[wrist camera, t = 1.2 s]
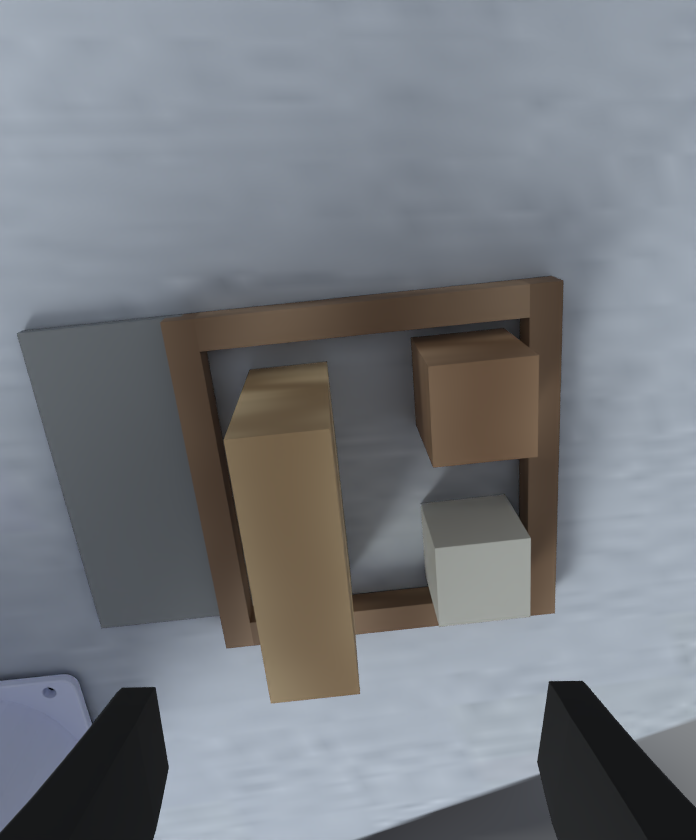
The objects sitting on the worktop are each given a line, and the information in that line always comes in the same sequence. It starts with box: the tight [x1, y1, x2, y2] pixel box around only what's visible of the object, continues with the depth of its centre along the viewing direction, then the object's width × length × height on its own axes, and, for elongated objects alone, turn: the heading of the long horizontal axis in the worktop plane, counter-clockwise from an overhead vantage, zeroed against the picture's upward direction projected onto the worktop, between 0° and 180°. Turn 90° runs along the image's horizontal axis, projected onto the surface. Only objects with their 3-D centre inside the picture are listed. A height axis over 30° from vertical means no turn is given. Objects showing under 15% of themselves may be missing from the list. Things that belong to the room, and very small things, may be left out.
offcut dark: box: [411, 328, 539, 468], centre depth 19 cm, size 3×3×4 cm
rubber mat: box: [17, 314, 220, 628], centre depth 21 cm, size 5×11×1 cm, turn 5°
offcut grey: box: [421, 494, 531, 627], centre depth 21 cm, size 3×3×3 cm
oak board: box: [224, 362, 360, 703], centre depth 19 cm, size 2×8×6 cm, turn 5°
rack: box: [160, 276, 563, 648], centre depth 21 cm, size 12×12×1 cm
